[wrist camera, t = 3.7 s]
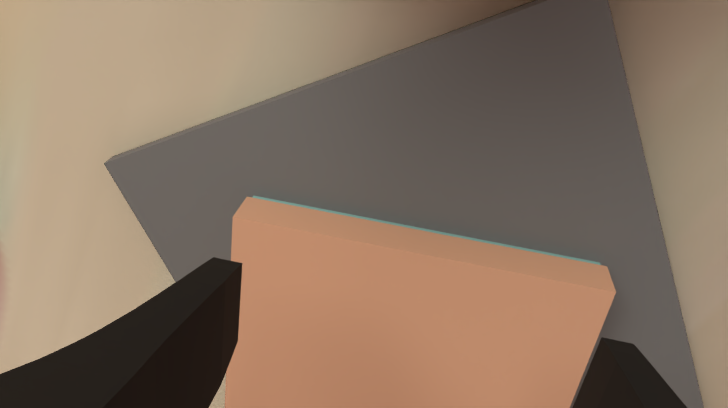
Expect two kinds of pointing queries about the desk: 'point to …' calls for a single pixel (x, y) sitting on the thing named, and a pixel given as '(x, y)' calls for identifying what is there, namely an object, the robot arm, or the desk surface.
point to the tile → (404, 315)
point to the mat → (447, 161)
